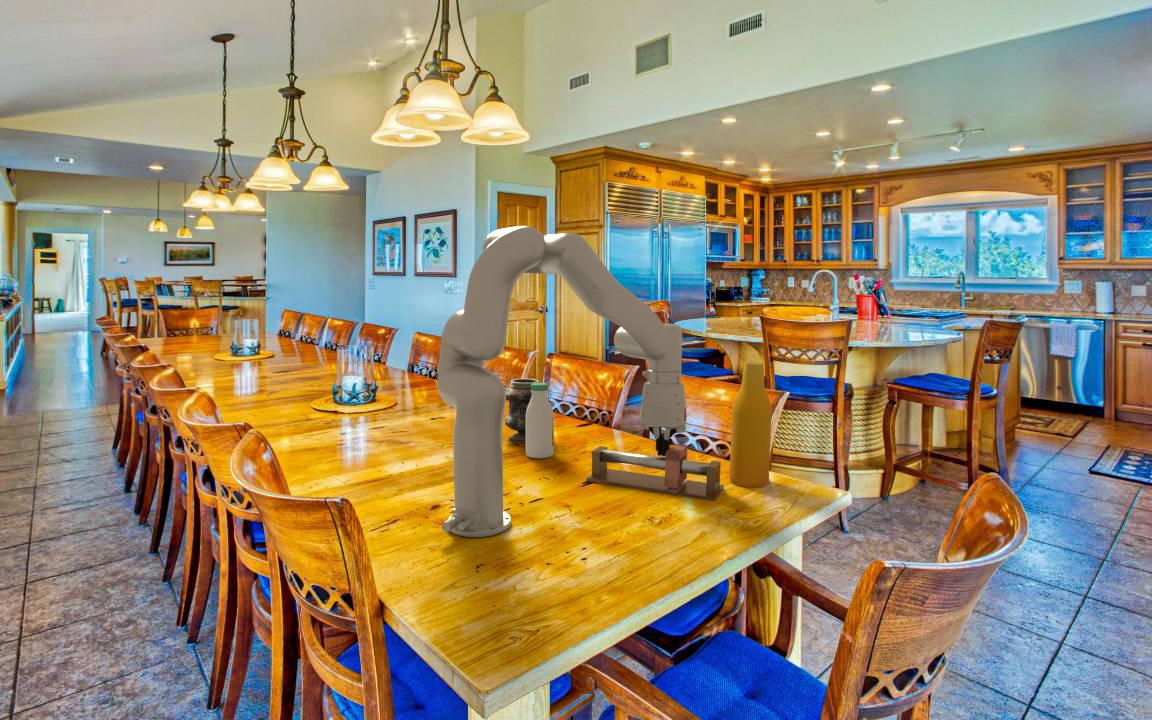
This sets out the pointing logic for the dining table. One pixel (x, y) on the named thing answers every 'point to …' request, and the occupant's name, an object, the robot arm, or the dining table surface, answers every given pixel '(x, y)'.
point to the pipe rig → (653, 482)
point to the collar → (675, 465)
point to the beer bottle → (751, 430)
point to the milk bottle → (539, 423)
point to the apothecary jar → (518, 407)
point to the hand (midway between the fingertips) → (662, 454)
